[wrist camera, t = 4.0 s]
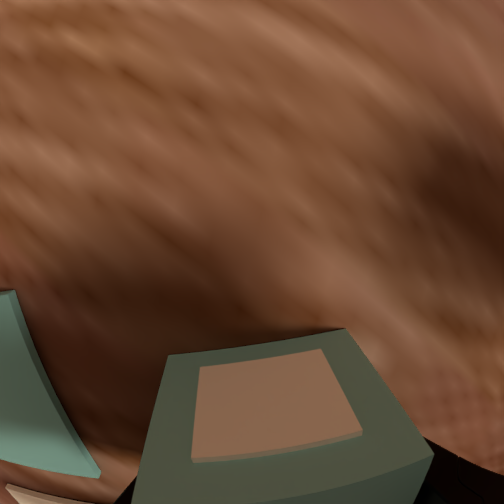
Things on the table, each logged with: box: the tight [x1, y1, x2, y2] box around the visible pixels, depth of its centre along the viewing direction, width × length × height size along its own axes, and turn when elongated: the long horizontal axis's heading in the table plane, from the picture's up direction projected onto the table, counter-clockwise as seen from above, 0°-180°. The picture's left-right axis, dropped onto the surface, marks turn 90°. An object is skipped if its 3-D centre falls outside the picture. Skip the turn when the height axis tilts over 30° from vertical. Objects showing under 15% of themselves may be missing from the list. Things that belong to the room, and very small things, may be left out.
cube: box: [131, 328, 434, 504], centre depth 7 cm, size 5×5×5 cm
